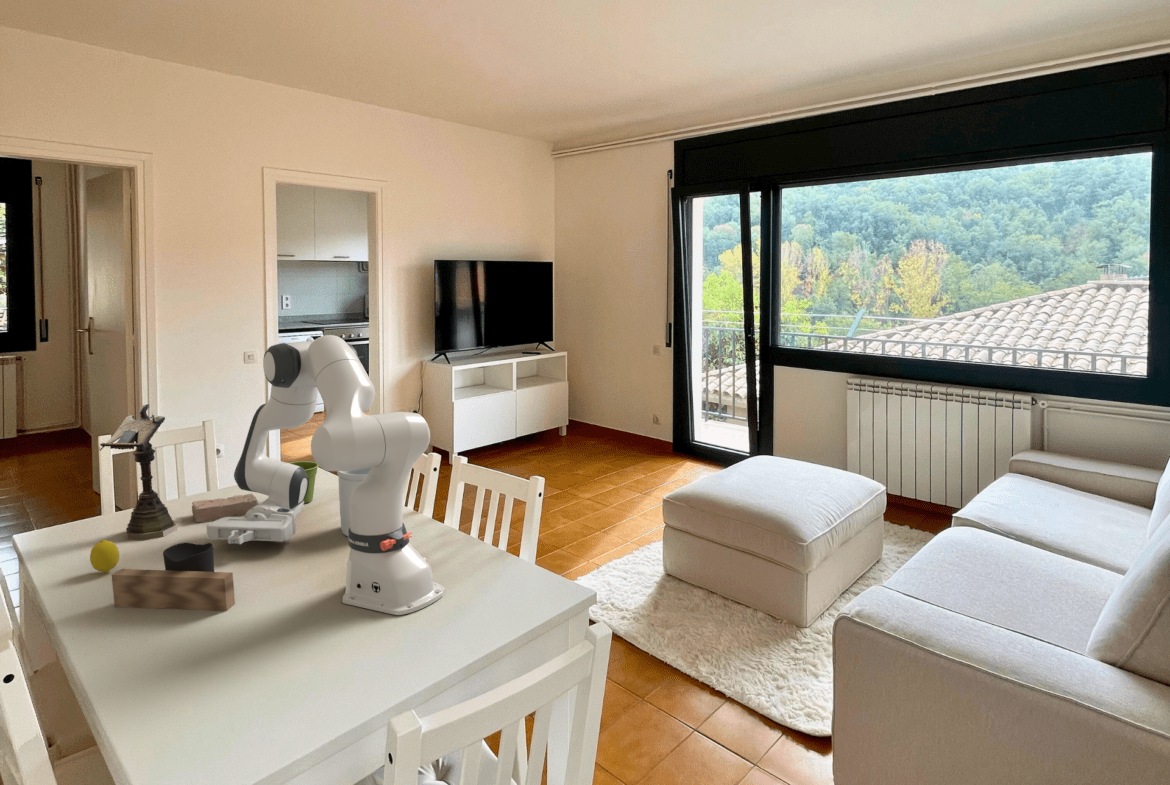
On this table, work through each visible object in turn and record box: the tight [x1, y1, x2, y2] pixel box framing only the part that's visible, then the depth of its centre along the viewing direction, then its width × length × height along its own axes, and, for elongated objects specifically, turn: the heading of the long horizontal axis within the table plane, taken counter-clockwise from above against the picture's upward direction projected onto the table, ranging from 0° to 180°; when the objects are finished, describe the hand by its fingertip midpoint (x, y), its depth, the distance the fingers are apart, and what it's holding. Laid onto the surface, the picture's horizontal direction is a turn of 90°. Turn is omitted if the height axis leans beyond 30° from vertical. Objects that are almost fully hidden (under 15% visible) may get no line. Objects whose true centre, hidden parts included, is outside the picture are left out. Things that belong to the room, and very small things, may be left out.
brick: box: [191, 493, 259, 523], centre depth 201 cm, size 16×8×5 cm, turn 127°
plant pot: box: [289, 460, 320, 504], centre depth 212 cm, size 12×12×11 cm
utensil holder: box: [336, 467, 371, 537], centre depth 189 cm, size 15×15×18 cm
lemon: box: [89, 539, 120, 574], centre depth 160 cm, size 6×6×8 cm
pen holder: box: [162, 542, 215, 572], centre depth 151 cm, size 9×9×10 cm
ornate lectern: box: [99, 403, 178, 541], centre depth 181 cm, size 17×13×35 cm
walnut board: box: [111, 568, 236, 611], centre depth 145 cm, size 24×3×7 cm, turn 87°
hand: (233, 541), depth 167 cm, fingers closed
